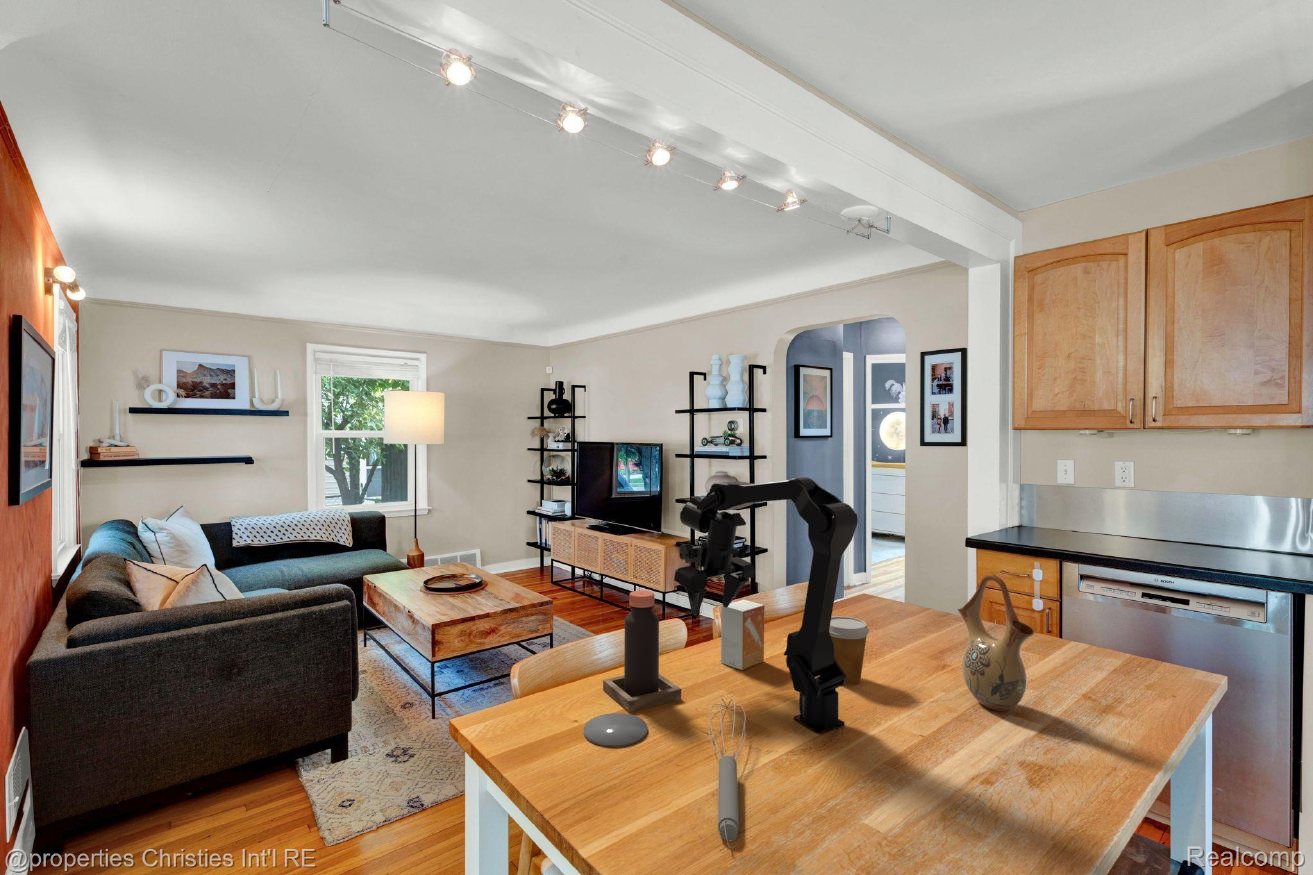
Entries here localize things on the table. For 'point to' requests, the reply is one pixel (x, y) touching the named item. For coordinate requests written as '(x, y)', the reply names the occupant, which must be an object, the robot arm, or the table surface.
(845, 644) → the disposable coffee cup
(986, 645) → the ceramic vessel
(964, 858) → the table surface
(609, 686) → the bottle caddy
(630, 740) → the slate coaster
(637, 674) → the vinegar
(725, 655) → the small box
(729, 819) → the kitchen whisk
